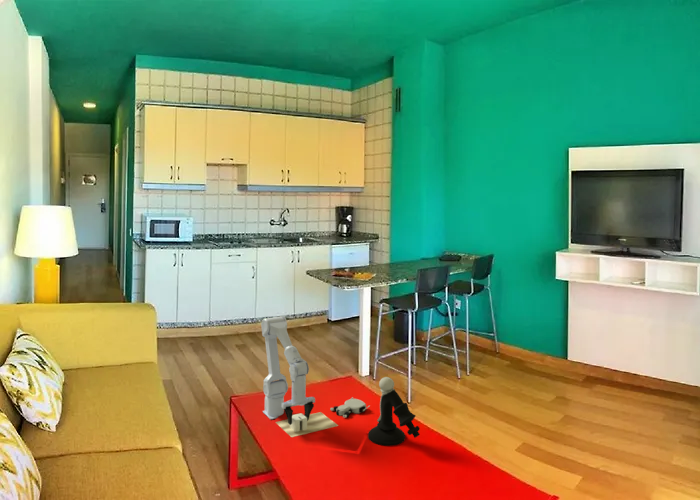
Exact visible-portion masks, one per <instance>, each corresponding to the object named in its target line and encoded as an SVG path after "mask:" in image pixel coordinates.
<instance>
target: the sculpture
mask: <svg viewBox="0 0 700 500" xmlns="http://www.w3.org/2000/svg"><path fill="white" fill-rule="evenodd" d="M378 383H379V384H378V386H379V388H380V390H379V391H380V392H381V395H380V401H379V413H380V415H379V417H378V418H377V420H376V421H377V424H376V425H375V426H374V427H372V428H371V429H370V430H369V431H368V433H367V438H368V440H369V441H370V442H371V443H374V444H376V445H379V446H387V447H389V446H397V445H400V444H402V443H404V442H405V440H406V434H405V431H403V430H402V429H401V428H400V427H405V426H406V428H408V430H407V431H406V432H407V435H408V436H411V435H412V436H413V437H414V439H416V438H417V437H419V436H420V433H419V431H420V426H419V425H416V426H415V425H414V424H413V422H412V421H413V420H414V419H415V418H416V414H413V413H412V412H411V410H410V409H409V405H408V403H407V402H404V401H403V400H402V398H401V396H400V395H399V394H398V392H397V391H396V389H395V382H394V380H393V378H391V377H388V376H384V377H382V378H381V379H380V380H379V382H378ZM393 414H394V415H395V416H396V418H397V419H398V422H399V427H398V426H397V424H396V423H395V422H394V418H393Z"/></svg>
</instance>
